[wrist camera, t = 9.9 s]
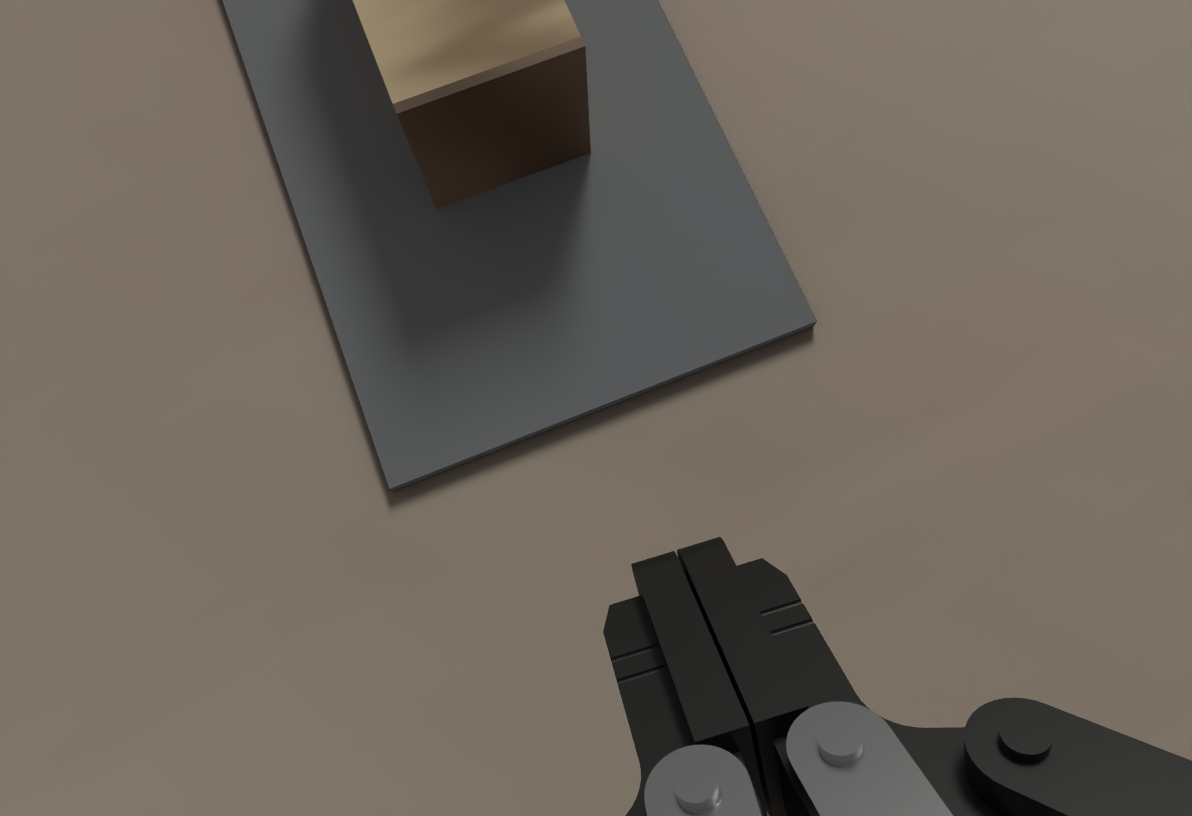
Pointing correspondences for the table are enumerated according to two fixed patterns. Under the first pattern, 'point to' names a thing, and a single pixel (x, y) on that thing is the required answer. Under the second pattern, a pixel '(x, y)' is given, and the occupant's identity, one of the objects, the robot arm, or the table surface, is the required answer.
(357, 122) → the mat
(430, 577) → the table surface
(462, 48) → the oak block
